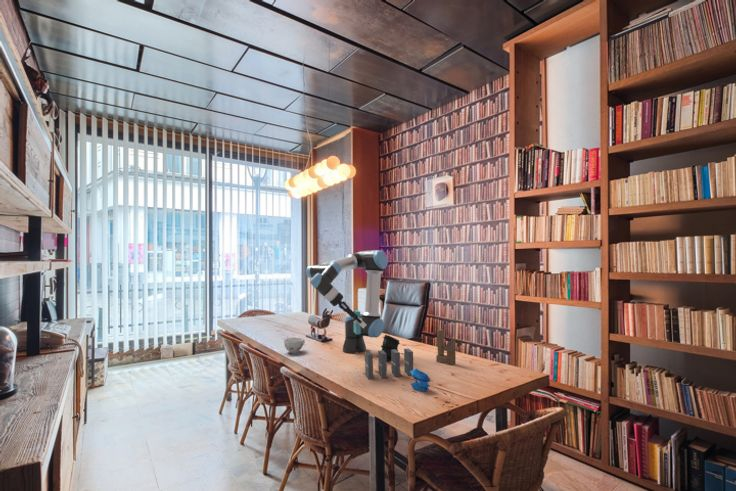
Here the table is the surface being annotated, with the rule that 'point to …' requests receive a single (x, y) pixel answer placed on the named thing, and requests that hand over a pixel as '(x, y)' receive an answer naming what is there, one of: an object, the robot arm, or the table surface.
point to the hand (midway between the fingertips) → (363, 325)
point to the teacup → (294, 344)
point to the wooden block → (445, 349)
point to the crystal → (420, 380)
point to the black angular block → (389, 346)
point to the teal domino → (356, 326)
